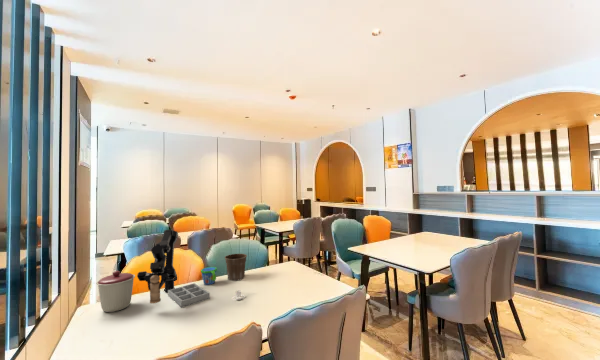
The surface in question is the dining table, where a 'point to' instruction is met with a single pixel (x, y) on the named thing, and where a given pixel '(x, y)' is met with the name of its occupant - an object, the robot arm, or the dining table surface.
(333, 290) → the dining table surface
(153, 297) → the skittle
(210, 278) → the snack cup
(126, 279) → the canister
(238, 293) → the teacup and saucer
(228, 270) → the plant pot
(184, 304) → the tray
